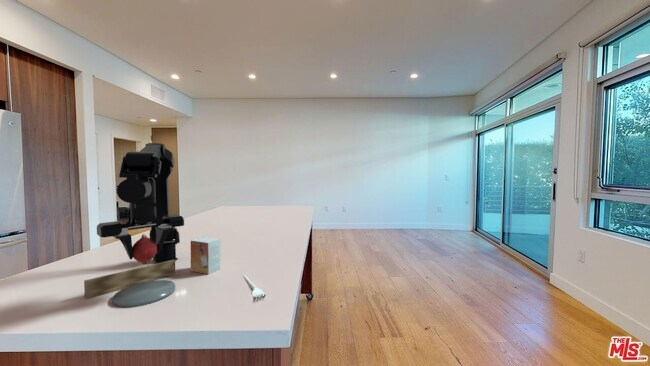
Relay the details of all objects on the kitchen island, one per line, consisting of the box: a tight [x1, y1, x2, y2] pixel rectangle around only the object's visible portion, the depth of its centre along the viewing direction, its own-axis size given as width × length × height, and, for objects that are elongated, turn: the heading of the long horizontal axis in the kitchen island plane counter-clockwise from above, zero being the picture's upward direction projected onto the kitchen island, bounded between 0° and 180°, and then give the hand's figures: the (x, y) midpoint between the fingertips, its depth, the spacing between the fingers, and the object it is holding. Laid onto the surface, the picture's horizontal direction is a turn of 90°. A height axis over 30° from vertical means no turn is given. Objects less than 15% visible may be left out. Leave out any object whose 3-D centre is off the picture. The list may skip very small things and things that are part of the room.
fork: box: [242, 274, 268, 298], centre depth 77 cm, size 3×20×2 cm, turn 31°
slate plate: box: [112, 279, 176, 308], centre depth 72 cm, size 14×14×1 cm
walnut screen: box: [83, 260, 177, 300], centre depth 78 cm, size 22×2×4 cm, turn 140°
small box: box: [190, 237, 222, 275], centre depth 89 cm, size 8×6×10 cm
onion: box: [132, 233, 157, 265], centre depth 71 cm, size 6×6×8 cm
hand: (144, 256), depth 72 cm, fingers closed on onion, 6 cm apart
